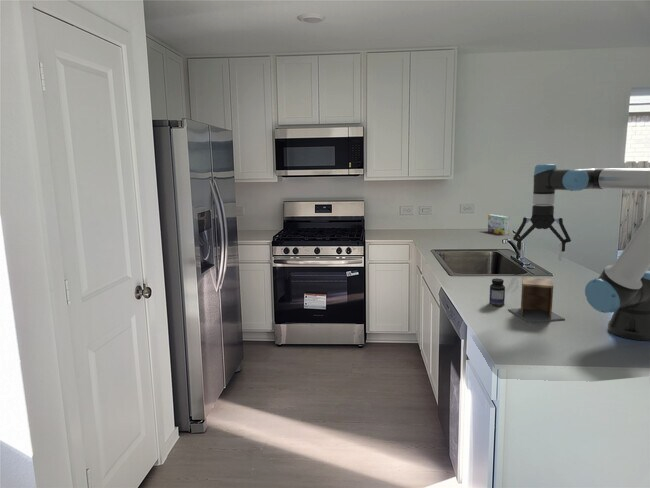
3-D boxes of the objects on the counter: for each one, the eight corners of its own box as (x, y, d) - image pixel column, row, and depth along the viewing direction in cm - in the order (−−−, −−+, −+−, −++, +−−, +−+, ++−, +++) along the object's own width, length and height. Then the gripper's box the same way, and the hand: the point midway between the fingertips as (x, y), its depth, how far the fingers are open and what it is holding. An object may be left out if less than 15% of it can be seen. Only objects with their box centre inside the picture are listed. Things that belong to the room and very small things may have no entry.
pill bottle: (492, 301, 201) (493, 277, 199) (506, 303, 198) (507, 279, 196) (487, 304, 197) (488, 280, 195) (501, 307, 193) (502, 282, 191)
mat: (564, 320, 176) (564, 318, 176) (528, 322, 174) (528, 321, 174) (541, 308, 191) (541, 306, 191) (508, 310, 189) (508, 309, 189)
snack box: (487, 231, 392) (487, 214, 389) (492, 231, 393) (493, 214, 391) (503, 235, 372) (504, 217, 369) (509, 234, 374) (510, 216, 371)
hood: (549, 310, 185) (551, 279, 183) (551, 319, 175) (553, 286, 173) (520, 308, 189) (522, 277, 187) (521, 316, 180) (522, 283, 177)
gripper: (578, 204, 174) (574, 258, 177) (508, 203, 183) (506, 255, 187) (581, 205, 167) (577, 262, 170) (508, 205, 176) (506, 259, 180)
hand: (540, 258), depth 179 cm, fingers open, 13 cm apart
